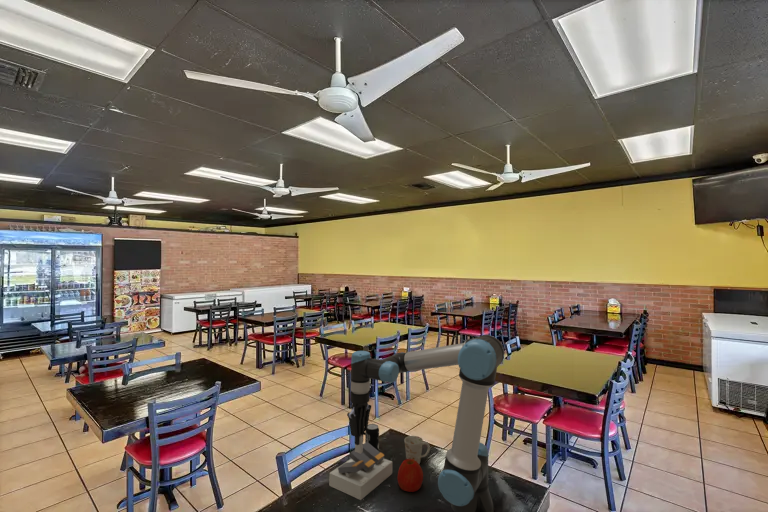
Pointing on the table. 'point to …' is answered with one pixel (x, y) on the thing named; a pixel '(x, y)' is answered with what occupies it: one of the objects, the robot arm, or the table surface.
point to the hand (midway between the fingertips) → (358, 451)
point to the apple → (410, 475)
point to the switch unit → (360, 479)
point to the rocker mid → (361, 456)
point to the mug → (415, 448)
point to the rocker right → (372, 453)
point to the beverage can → (372, 435)
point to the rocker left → (351, 467)
